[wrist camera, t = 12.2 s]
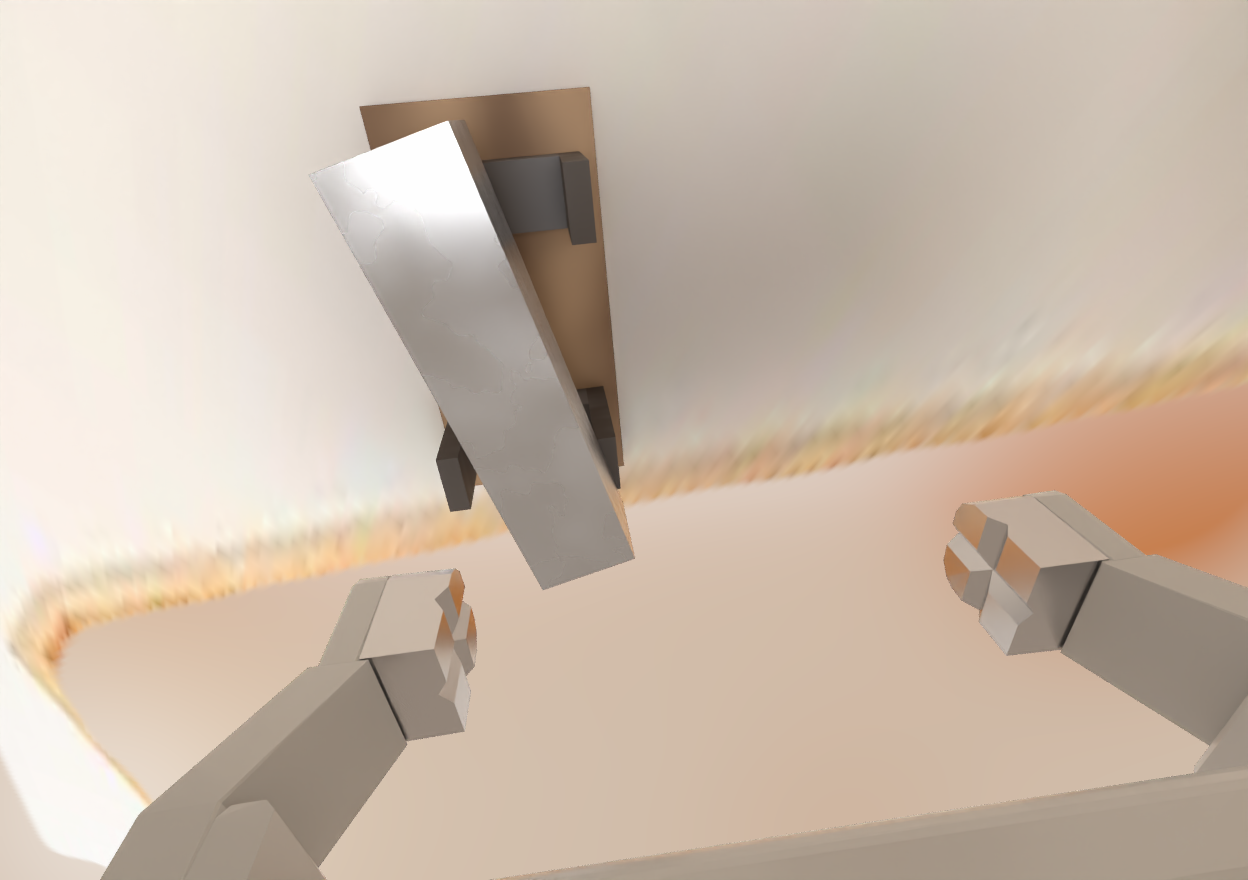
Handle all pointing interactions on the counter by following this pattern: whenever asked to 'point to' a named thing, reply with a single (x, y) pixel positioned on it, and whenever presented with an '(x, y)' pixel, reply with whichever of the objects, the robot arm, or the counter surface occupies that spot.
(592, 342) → the stand
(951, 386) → the counter surface
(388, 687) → the robot arm
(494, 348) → the rail
